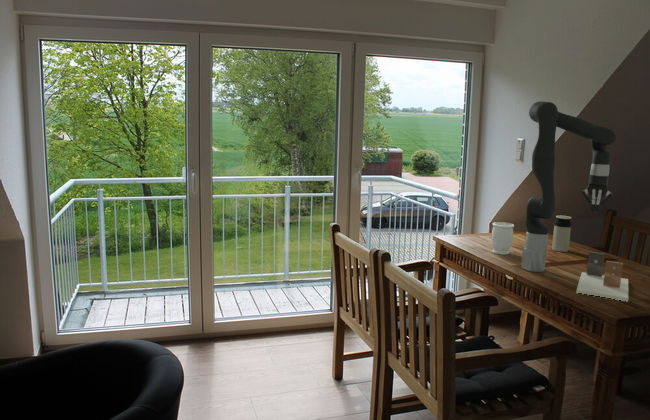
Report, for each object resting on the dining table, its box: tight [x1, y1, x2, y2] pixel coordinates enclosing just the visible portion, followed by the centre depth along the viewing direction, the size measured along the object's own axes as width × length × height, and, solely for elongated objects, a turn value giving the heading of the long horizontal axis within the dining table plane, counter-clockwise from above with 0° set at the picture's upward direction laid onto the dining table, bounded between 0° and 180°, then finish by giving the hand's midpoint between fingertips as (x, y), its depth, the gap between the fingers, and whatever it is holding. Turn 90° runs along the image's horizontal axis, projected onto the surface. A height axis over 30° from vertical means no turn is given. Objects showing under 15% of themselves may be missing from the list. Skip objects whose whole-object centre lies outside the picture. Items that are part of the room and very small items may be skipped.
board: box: [575, 271, 629, 303], centre depth 222 cm, size 29×18×2 cm, turn 151°
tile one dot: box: [586, 250, 606, 277], centre depth 232 cm, size 2×6×10 cm, turn 61°
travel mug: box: [551, 215, 572, 253], centre depth 282 cm, size 8×8×18 cm
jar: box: [491, 221, 515, 256], centre depth 273 cm, size 11×10×15 cm
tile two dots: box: [603, 260, 624, 288], centre depth 218 cm, size 2×6×10 cm, turn 61°
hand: (594, 212), depth 242 cm, fingers closed
